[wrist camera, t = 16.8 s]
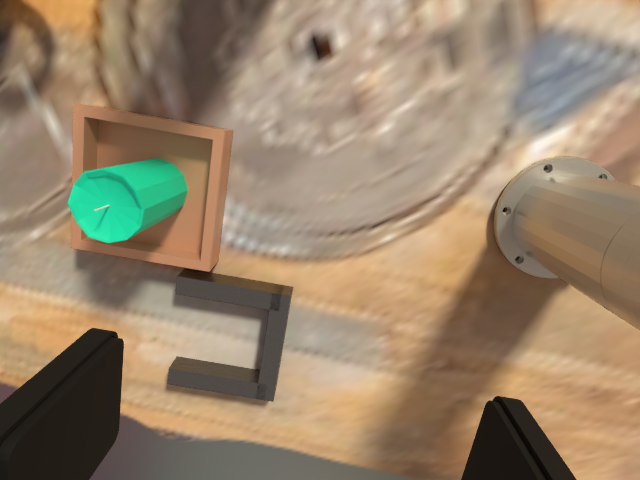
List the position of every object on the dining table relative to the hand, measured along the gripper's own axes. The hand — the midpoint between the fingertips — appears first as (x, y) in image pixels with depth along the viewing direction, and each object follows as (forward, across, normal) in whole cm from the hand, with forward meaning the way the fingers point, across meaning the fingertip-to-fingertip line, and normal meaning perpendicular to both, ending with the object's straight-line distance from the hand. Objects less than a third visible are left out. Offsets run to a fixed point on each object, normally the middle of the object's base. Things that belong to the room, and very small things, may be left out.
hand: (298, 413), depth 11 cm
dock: (+34, +8, +17) cm, 39 cm away
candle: (+34, +17, +2) cm, 37 cm away
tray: (+34, +17, +2) cm, 38 cm away
